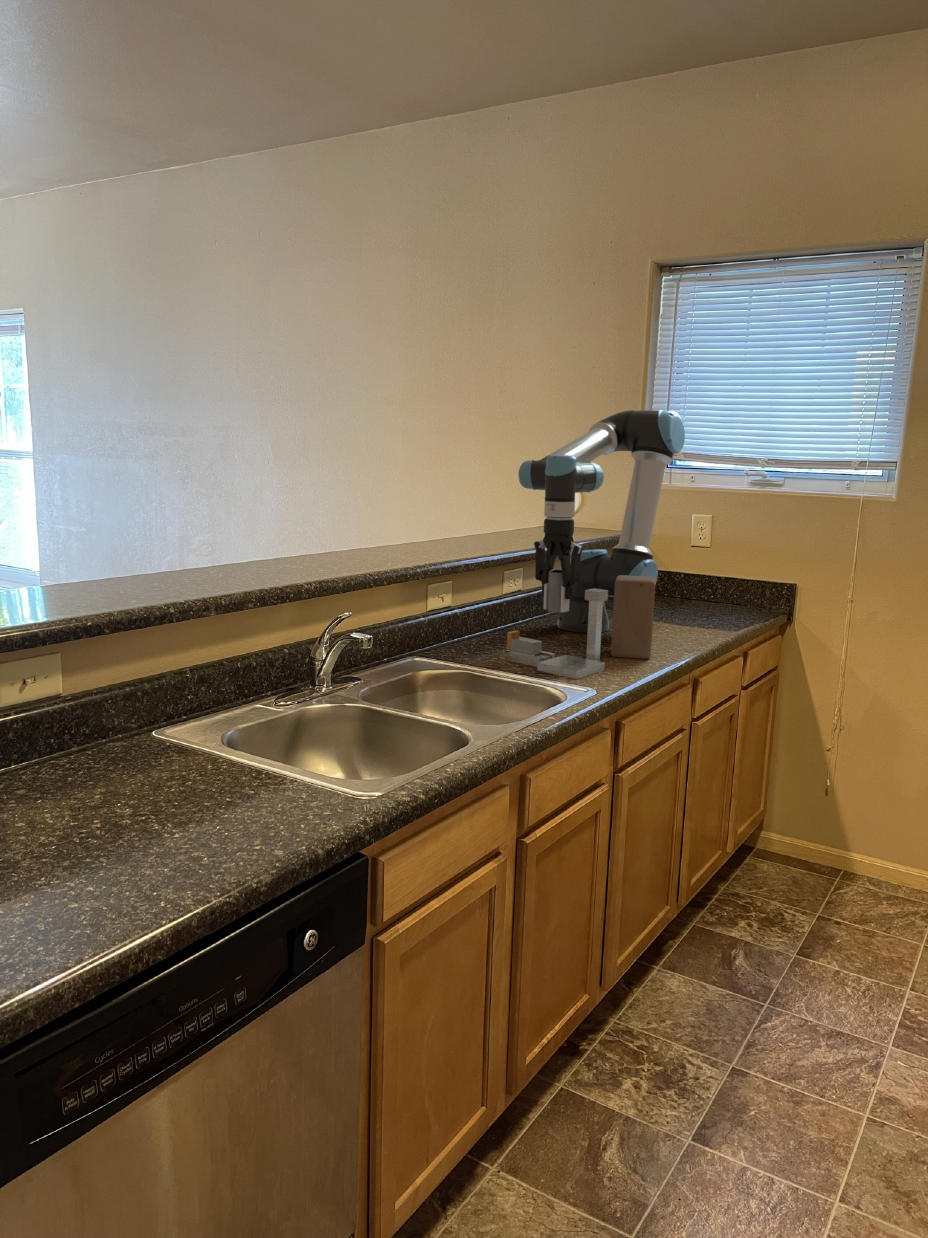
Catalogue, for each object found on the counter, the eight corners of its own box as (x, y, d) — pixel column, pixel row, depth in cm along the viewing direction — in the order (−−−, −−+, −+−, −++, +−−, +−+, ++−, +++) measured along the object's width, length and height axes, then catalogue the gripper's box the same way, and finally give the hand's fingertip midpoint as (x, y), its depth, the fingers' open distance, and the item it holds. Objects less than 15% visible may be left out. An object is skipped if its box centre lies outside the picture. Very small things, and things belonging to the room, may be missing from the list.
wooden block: (650, 660, 231) (655, 581, 227) (610, 657, 233) (614, 579, 229) (650, 651, 241) (655, 576, 237) (612, 649, 242) (616, 574, 239)
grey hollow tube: (550, 608, 236) (551, 569, 234) (567, 610, 234) (568, 570, 232) (545, 612, 232) (546, 571, 229) (562, 613, 230) (563, 573, 228)
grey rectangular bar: (515, 647, 230) (515, 630, 229) (541, 653, 225) (542, 635, 224) (506, 649, 228) (507, 632, 227) (533, 655, 223) (533, 637, 222)
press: (544, 652, 237) (547, 581, 233) (616, 666, 223) (620, 592, 220) (502, 662, 224) (505, 588, 220) (576, 679, 210) (580, 600, 206)
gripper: (521, 516, 231) (519, 607, 235) (580, 521, 219) (576, 617, 224) (539, 514, 236) (537, 603, 241) (597, 519, 225) (593, 612, 230)
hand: (556, 609), depth 233 cm, fingers closed on grey hollow tube, 4 cm apart
